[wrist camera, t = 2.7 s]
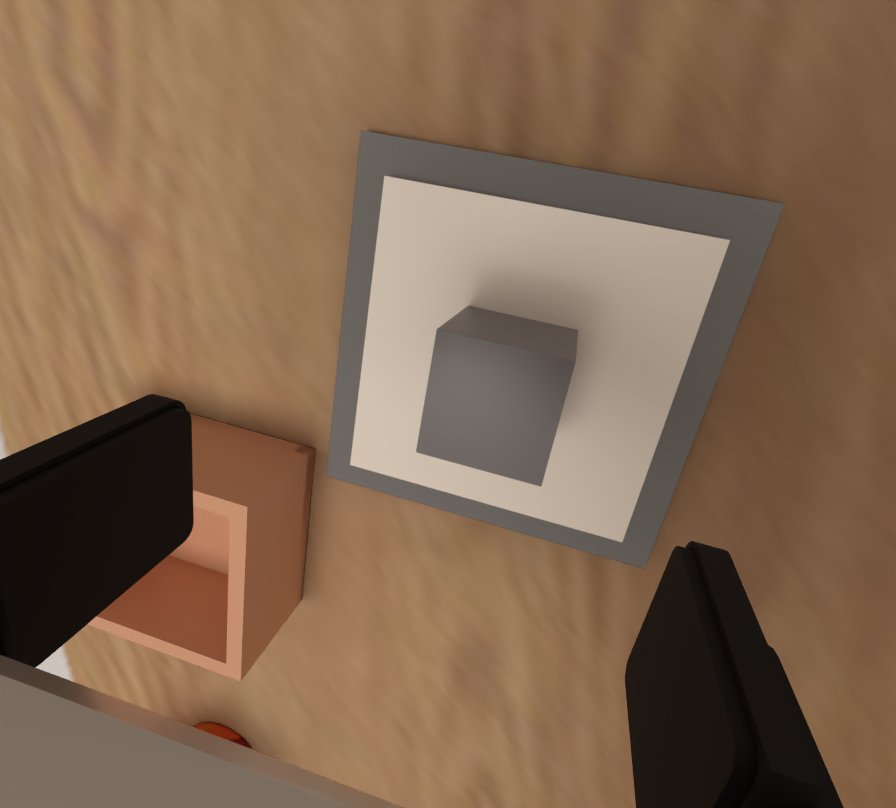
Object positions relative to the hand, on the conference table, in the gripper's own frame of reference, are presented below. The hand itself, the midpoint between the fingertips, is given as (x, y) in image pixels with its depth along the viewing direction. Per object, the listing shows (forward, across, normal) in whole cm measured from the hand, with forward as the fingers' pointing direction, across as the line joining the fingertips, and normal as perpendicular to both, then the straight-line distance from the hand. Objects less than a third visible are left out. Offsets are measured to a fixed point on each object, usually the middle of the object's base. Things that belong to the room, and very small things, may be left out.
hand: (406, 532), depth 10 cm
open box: (+15, +14, +13) cm, 24 cm away
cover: (+14, 0, +1) cm, 14 cm away
